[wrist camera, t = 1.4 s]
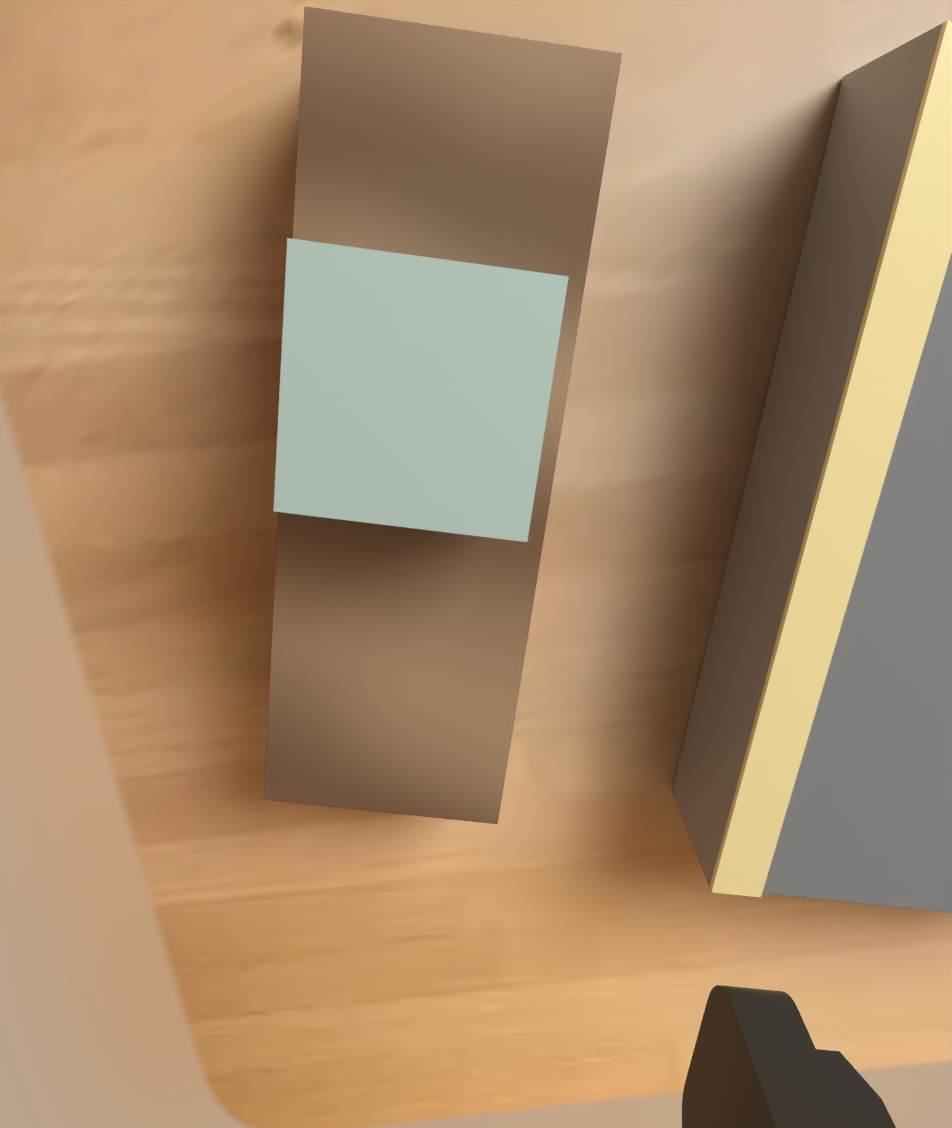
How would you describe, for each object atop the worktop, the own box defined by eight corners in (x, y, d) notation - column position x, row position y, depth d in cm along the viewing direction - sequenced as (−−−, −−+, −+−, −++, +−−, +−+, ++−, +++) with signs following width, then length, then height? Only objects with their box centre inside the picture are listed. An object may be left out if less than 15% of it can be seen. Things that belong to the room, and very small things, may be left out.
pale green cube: (332, 247, 15) (287, 238, 12) (545, 276, 16) (568, 275, 12) (318, 458, 17) (273, 511, 13) (514, 482, 17) (527, 542, 13)
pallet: (339, 63, 18) (304, 6, 14) (590, 99, 18) (622, 53, 14) (298, 713, 23) (263, 799, 19) (493, 735, 23) (497, 824, 20)
